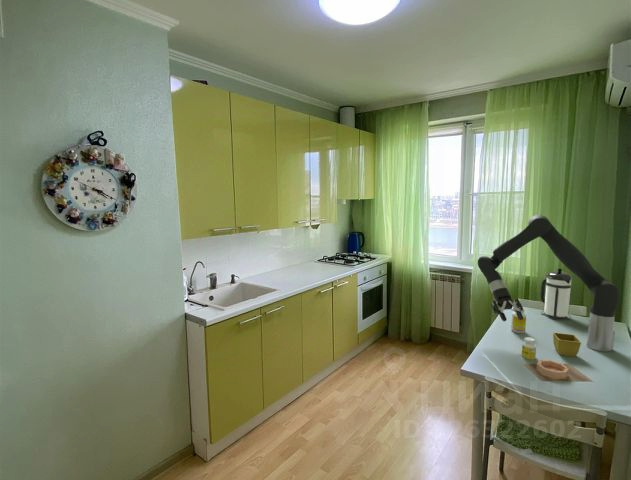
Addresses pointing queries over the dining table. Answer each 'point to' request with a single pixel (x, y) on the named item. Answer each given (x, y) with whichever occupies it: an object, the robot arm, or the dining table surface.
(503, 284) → the robot arm
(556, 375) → the octagonal planter bowl
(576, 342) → the flower pot
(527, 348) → the supplement bottle
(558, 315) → the coffee press
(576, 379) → the walnut board
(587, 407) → the dining table surface
